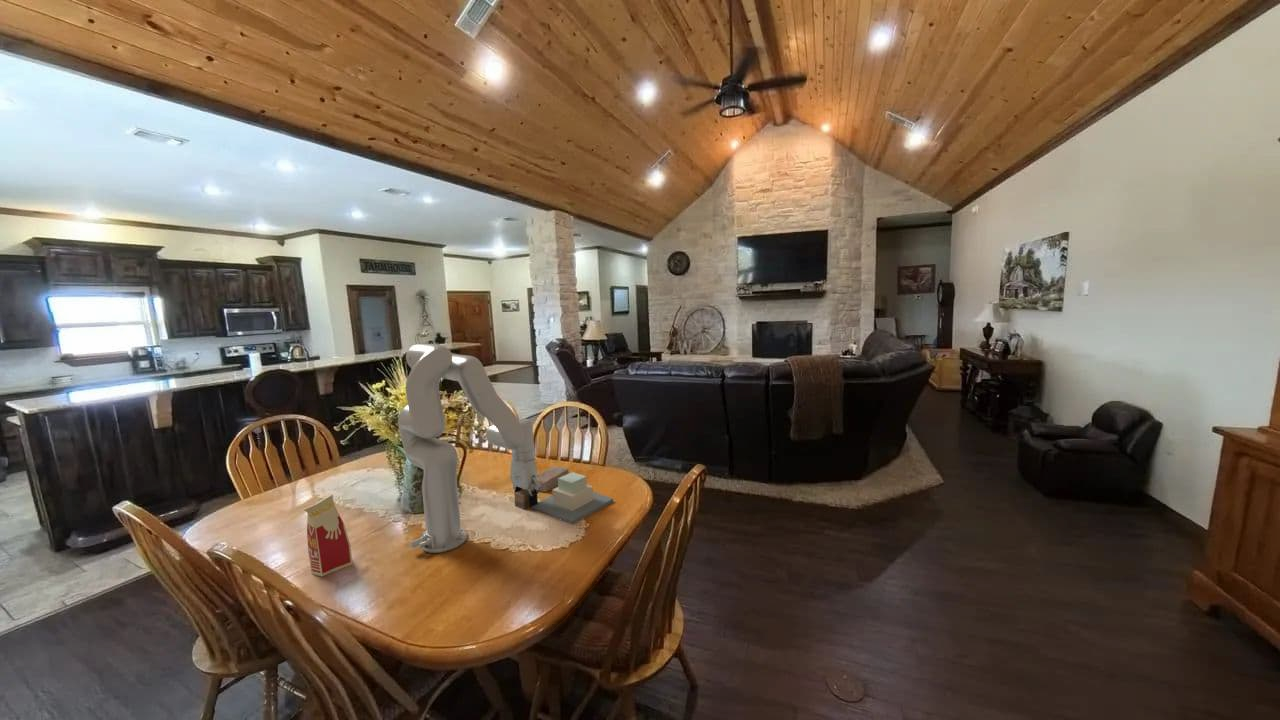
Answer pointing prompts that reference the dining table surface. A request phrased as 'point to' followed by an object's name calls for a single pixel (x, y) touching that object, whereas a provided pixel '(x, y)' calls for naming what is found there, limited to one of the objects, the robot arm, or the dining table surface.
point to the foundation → (572, 504)
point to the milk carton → (327, 538)
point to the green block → (572, 482)
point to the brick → (551, 477)
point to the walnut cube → (522, 499)
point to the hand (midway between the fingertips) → (526, 502)
